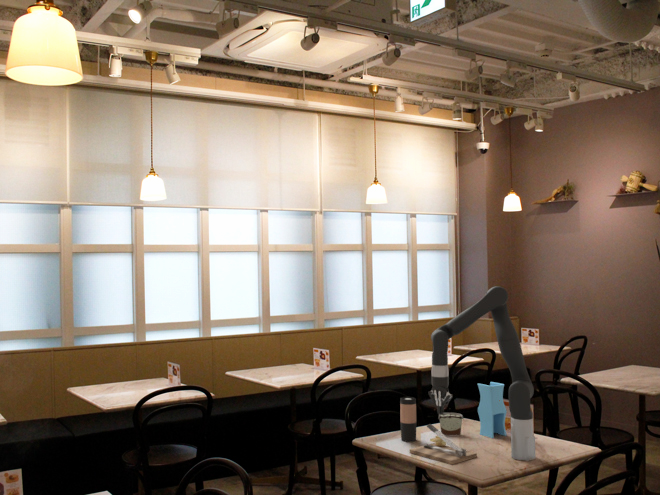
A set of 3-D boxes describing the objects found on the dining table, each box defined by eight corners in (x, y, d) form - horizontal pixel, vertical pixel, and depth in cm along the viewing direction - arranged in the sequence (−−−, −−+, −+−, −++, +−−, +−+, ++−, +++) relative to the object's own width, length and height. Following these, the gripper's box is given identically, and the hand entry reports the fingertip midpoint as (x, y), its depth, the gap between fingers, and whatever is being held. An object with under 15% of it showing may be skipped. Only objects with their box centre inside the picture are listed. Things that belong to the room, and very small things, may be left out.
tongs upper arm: (462, 452, 282) (463, 450, 282) (458, 453, 281) (459, 451, 281) (430, 425, 297) (430, 423, 296) (426, 426, 295) (427, 424, 295)
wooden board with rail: (476, 456, 285) (476, 446, 286) (451, 464, 274) (451, 454, 275) (434, 446, 304) (434, 436, 304) (409, 452, 293) (409, 443, 293)
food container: (462, 432, 329) (462, 412, 329) (463, 435, 323) (463, 415, 323) (437, 432, 330) (437, 412, 331) (438, 435, 324) (438, 414, 324)
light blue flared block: (492, 431, 331) (491, 381, 332) (507, 435, 322) (506, 384, 323) (478, 434, 326) (477, 383, 327) (492, 438, 317) (491, 386, 318)
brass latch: (446, 445, 299) (445, 436, 299) (436, 448, 294) (435, 439, 294) (440, 443, 301) (439, 435, 302) (429, 446, 297) (429, 437, 297)
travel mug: (398, 440, 314) (397, 398, 315) (403, 437, 321) (403, 396, 322) (413, 442, 311) (413, 400, 311) (418, 438, 317) (418, 397, 318)
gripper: (457, 375, 289) (457, 415, 288) (434, 372, 299) (434, 410, 298) (446, 377, 284) (446, 418, 283) (423, 374, 294) (423, 413, 293)
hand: (440, 414), depth 291 cm, fingers closed
